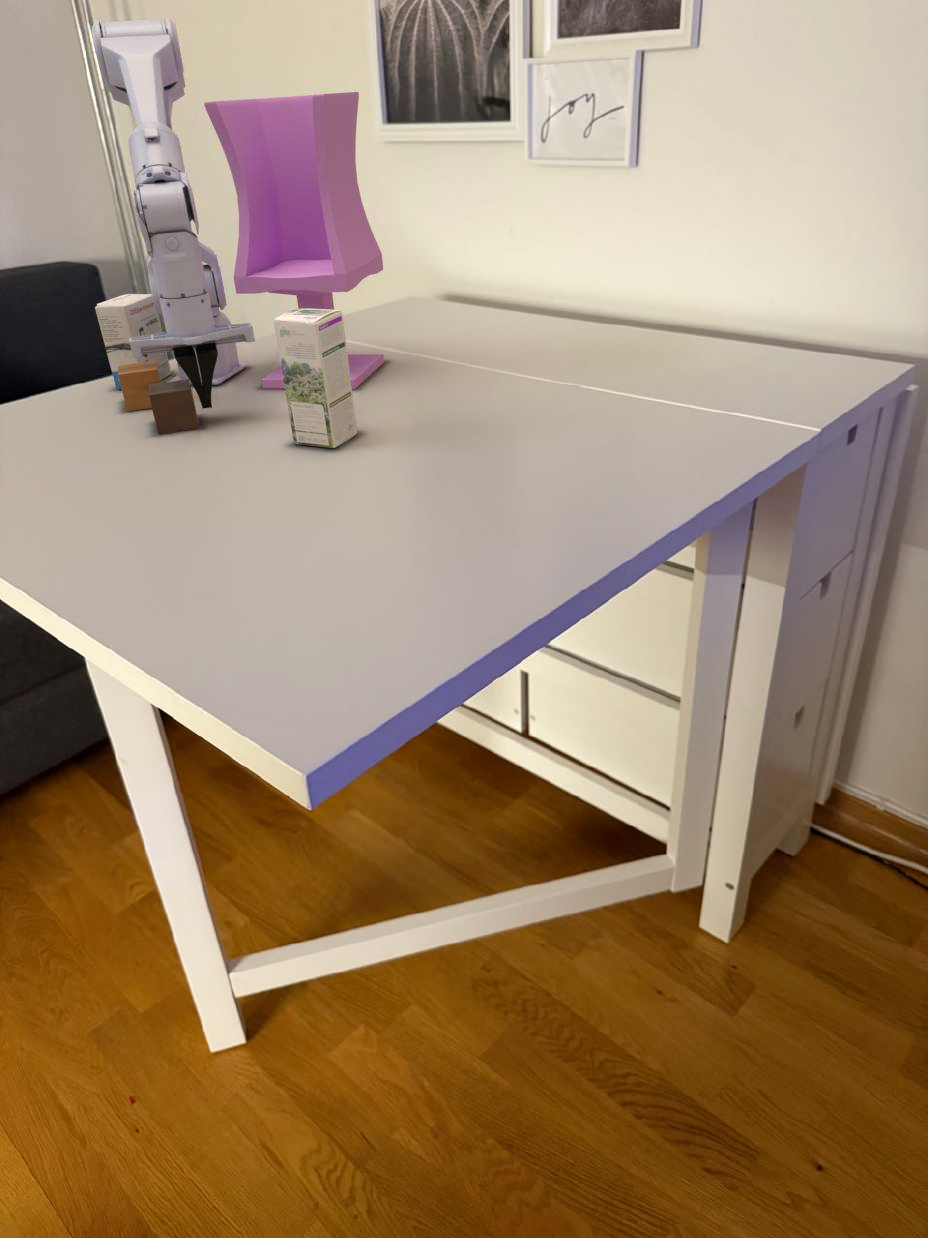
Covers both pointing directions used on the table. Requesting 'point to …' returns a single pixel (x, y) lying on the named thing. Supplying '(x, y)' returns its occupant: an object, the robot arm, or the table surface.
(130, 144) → the robot arm
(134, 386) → the oak block
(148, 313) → the ink box
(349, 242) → the purple pedestal chair
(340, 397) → the syrup box
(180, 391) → the walnut block
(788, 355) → the table surface
